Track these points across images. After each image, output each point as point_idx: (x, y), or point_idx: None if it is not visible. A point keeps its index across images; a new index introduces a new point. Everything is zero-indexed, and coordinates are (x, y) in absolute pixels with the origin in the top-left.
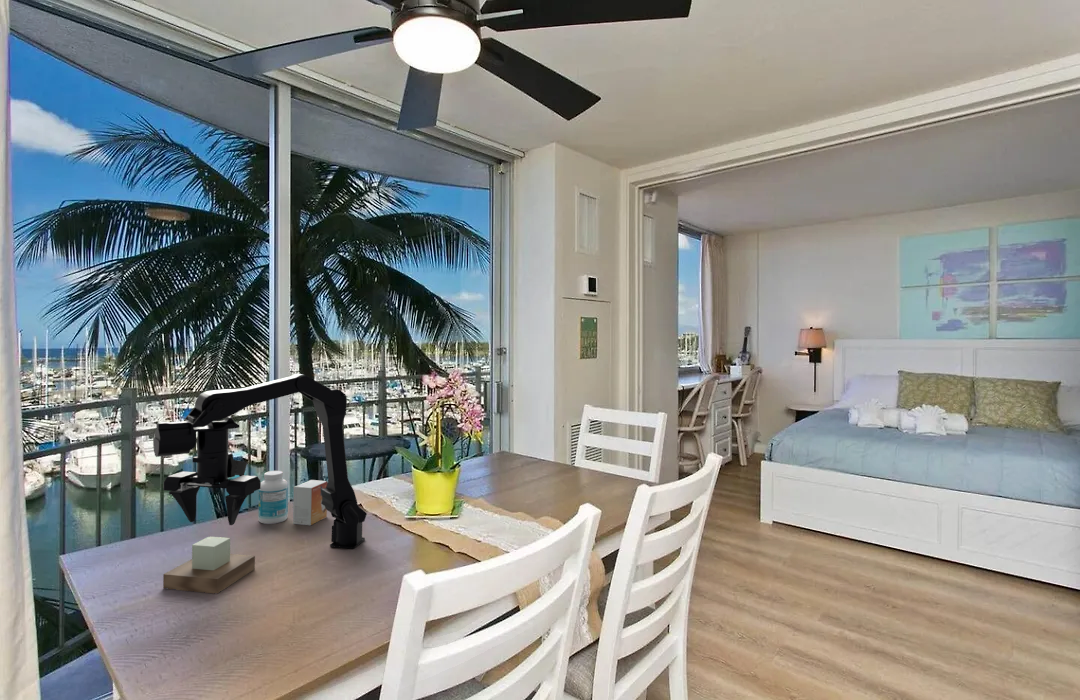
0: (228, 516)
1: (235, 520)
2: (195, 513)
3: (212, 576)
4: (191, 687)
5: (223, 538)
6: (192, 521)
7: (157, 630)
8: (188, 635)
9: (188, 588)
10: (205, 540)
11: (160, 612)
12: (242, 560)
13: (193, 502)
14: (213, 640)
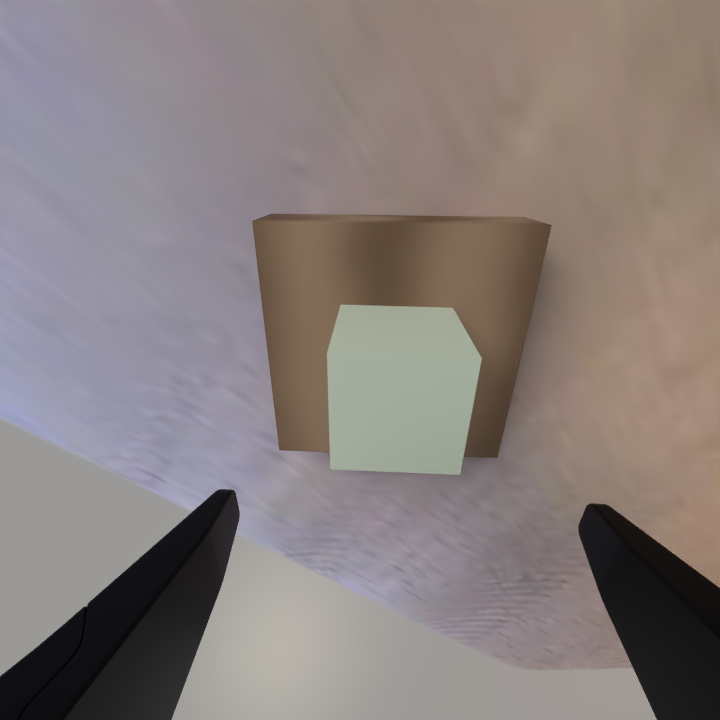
0: (630, 641)
1: (630, 523)
2: (208, 537)
3: (467, 443)
4: (613, 663)
5: (440, 370)
6: (237, 509)
7: (445, 567)
8: (525, 575)
9: None
10: (353, 412)
11: (393, 515)
12: (512, 294)
13: (129, 685)
14: (590, 583)
